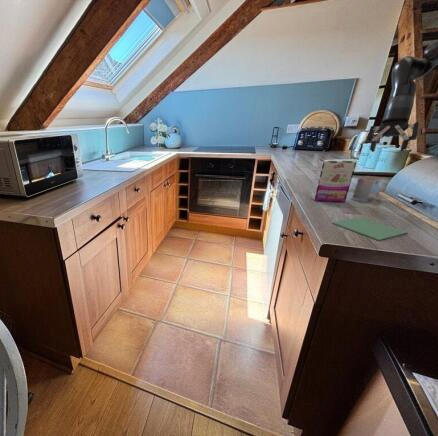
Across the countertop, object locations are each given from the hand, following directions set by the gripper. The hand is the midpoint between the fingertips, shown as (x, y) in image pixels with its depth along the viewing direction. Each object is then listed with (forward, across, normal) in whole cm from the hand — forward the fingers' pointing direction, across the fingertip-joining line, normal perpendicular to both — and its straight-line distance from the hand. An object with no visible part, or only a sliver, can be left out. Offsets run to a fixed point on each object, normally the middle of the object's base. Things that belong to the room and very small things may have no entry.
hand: (386, 151), depth 97 cm
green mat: (+34, -6, +31) cm, 46 cm away
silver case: (+20, +3, 0) cm, 21 cm away
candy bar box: (+24, +12, +11) cm, 29 cm away
